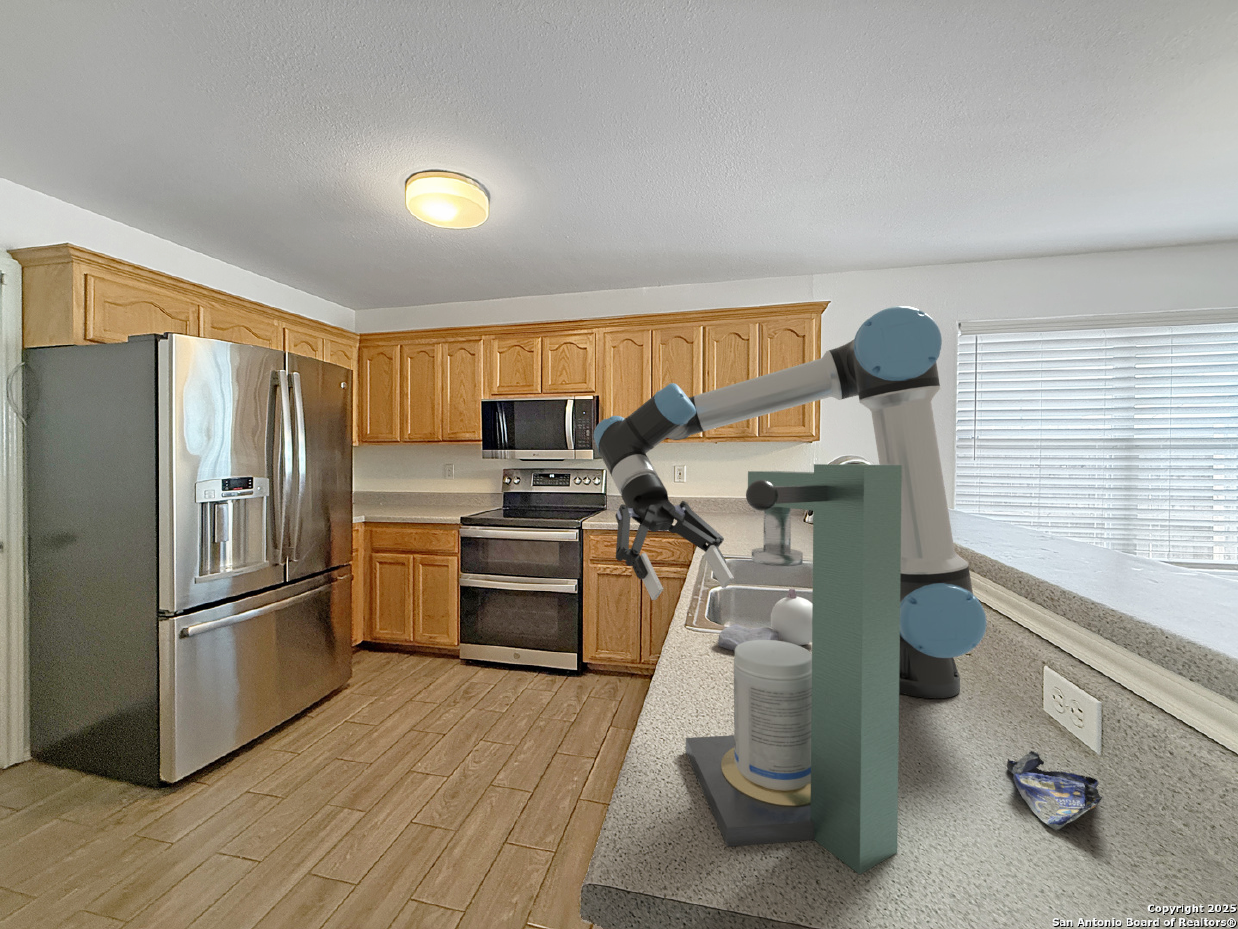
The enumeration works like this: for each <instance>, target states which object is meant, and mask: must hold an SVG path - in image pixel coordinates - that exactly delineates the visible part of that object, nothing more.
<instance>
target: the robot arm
mask: <svg viewBox="0 0 1238 929" xmlns="http://www.w3.org/2000/svg"><path fill="white" fill-rule="evenodd" d="M941 333H942V332H941V330H940V327H939V325H938V324H937V322H936V321H935V320H934V319H933V318H932V317H931V315H929V314H927V313H926V312H924V311H922V310H920V309H918V308H916V307H911V306H903V305H901V306H900V305H899V306H891V307H887V308H885V309H882V310H880V311H877V313H875V314H873V315H871V317H869V318H868V319H866V320H865V321H864V322H863V323H862V324H861V325H860V327H859V328H858V330H857V331H856V333H855V336H854V339H853V340H851V341H849V342H847V343H845V344H843V345H840V346H839V347H835V348H832V349H829V350H826V351H825V353H824V354H823V356H822V357H821V358H818V359H814V360H811V361H807V362H804V363H802V364H801V363H800V364H797V365H794V366H791V367H787V368H784V369H781V370H778V371H774V372H770V373H767V374H764V375H760V376H756V377H754V378H750V379H746V380H743V381H741V382H740V381H739V382H737V383H733V384H729V385H726V386H724V387H720V388H717V389H713V390H710V391H709V390H708V391H706V392H703V393H700V394H696V395H694V396H693V395H692V396H690V397H689V396H688V395H687V394H686V393H685V392H684V390H683V389H682V388H681V387H680V386H679V385H678V384H677V383H675V382H674V383H673V382H671V383H668V384H667V385H666V386H665V387H663V388H661V389H660V390H658V391H656V392H655V394H653V396H651V397H650V398H649V399H648V400H646V401H645V402H644V403H643V404H642V405H641V406H640V407H638V408H637V409H636V410H635V411H633V412H632V413H631V414H629V415H628V416H627V417H623V416H620V415H611V416H609V418H604V419H602V420H601V421H600V422H598V424H597V425H596V427H595V428H594V431H593V440H594V442H595V445H596V447H597V448H596V449H597V452H598V454H599V456H600V457H601V459H602V461H603V463H604V464H605V466H606V469H607V470H608V473H609V475H610V476H611V478H612V480H613V483H614V485H615V487H616V489H617V490H618V492H619V495H621V498H622V501H623V503H624V504H620V506H619V508H618V510H617V511H616V513H615V515H614V516H615V519H616V522H617V535H616V545H615V546H616V547H615V559H616V560H617V561H618V562H622V561H623V560H625V565H626V566H628V567H632V569H633V571H634V573H635V576H636V577H637V578H638V579H639V580H642V582H643V584H644V586H645V589H646V591H647V592H648V594H649V597H650V598H651V601H655V600H657V599H658V598H659V596H660V595H661V593H662V592H663V591H664V587H663V585H662V584H661V581H660V579H659V577H658V575H657V573H656V570H655V569H654V567H653V565H652V563H651V561H650V558H649V556H648V554H647V553H646V552H642V553H641V551H642V548H643V547H644V546H643V545H644V542H645V540H646V537H647V534H648V531H651V533H654V532H658V531H661V532H667V531H669V532H670V533H671V534H677V535H679V536H680V537H681V538H683V539H685V540H686V541H687V542H689V543H691V544H692V545H694V546H695V547H697V548H699V549H701V551H703V552H704V554H703V557H704V558H705V561H706V563H707V564H708V567H710V569H711V571H712V572H713V574H714V576H715V578H716V580H717V582H718V583H719V585H720V587H721V589H724V588H727V587H728V585H730V584H731V582H732V581H733V579H734V578H735V577H734V575H733V574H732V572H731V571H730V569H729V568H728V566H727V560H726V557H725V556H724V554H723V553H722V551H721V550H720V548H719V547H720V546H721V545H722V544H723V542H724V540H725V538H724V536H722V535H721V534H720V532H718V531H717V530H716V529H714V528H713V527H712V526H711V525H710V524H709V523H707V522H706V521H705V520H704V519H703V518H702V517H700V516H699V515H698V514H697V513H696V512H695V511H694V510H692V508H691V506H690V505H689V504H688V502H687V501H685V500H682V501H681V502H680V503H679V504H676V505H674V503H673V504H672V502H671V501H670V500H669V496H668V495H669V494H668V490H667V488H666V486H665V485H664V483H663V482H662V480H661V478H660V477H659V474H658V472H657V471H656V469H655V468H654V466H653V464H652V463H651V461H650V459H649V456H648V455H647V453H649V452H650V451H651V450H653V449H654V448H655V447H656V446H657V445H659V444H660V443H662V442H663V441H664V440H666V439H667V438H668V439H670V440H673V441H680V440H685V439H687V438H688V437H690V436H693V435H696V434H700V433H702V432H706V431H710V430H714V429H717V428H721V427H724V426H728V425H731V424H735V423H740V422H743V421H746V420H750V419H754V418H757V417H761V416H765V415H769V414H772V413H776V412H781V411H783V410H787V409H791V408H795V407H798V406H799V407H800V406H802V405H806V404H810V403H813V402H817V401H821V400H823V399H827V398H834V399H836V400H838V401H841V400H845V399H848V398H853V397H858V400H859V403H860V404H861V405H863V406H864V407H866V408H867V409H868V410H869V411H870V412H871V413H870V414H871V418H872V425H873V430H874V431H873V432H874V436H875V437H874V438H875V444H876V450H877V457H878V465H902V487H901V573H900V659H899V694H903V695H906V696H911V697H917V698H925V699H945V698H951V697H952V698H953V697H954V696H957V695H958V694H959V693H960V691H961V677H960V674H959V672H958V668H957V664H956V661H955V659H954V658H958V657H961V656H963V655H966V654H967V653H969V652H971V651H973V649H975V648H976V647H977V646H978V645H979V644H980V643H981V641H982V640H983V638H984V636H985V634H986V631H987V623H988V622H987V616H986V612H985V609H984V608H983V604H981V602H980V599H979V598H978V597H977V596H976V595H974V592H973V585H972V578H971V572H970V566H969V562H968V561H967V560H965V559H964V558H963V557H961V556H960V555H958V553H957V552H956V551H955V545H954V539H953V533H952V526H951V519H950V513H949V508H948V502H947V500H948V499H947V495H946V494H947V493H946V489H945V482H944V475H943V471H942V470H943V469H942V464H941V458H940V457H941V456H940V450H939V444H938V438H937V433H936V432H937V431H936V424H935V418H934V411H933V406H932V400H933V399H934V397H935V396H936V394H937V393H938V392H939V391H940V390H941V385H940V377H939V371H938V365H937V361H938V359H939V357H940V356H941V355H940V353H941V350H942V345H943V344H942V334H941ZM631 519H632V520H634V521H636V523H638V524H639V526H638V528H637V531H636V534H635V537H634V539H633V542H632V545H631V546H630V531H631V529H630V528H631V526H630V525H631ZM675 520H676V522H675V524H674V521H675ZM673 524H674V525H673ZM640 553H641V554H640Z"/></svg>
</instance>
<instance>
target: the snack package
mask: <svg viewBox="0 0 1238 929" xmlns="http://www.w3.org/2000/svg"><path fill="white" fill-rule="evenodd" d="M1044 758H1046V759H1047V756H1044ZM1044 764H1045V762H1044V760H1043V759H1042V758H1041V757H1040V754H1039V753H1038V751H1036V752H1034V751H1033V750H1030V752H1028V753H1027V754H1025V755H1024V756H1023V757H1021V758H1020V759H1019V760H1018V761H1015V760H1009V757H1008V759H1007V763H1006V768H1007V770H1008V771H1009V772H1010V773H1011V774H1012V775H1013V782H1014V785H1015V787H1016V788H1017V789H1018V792H1019V794H1020V795H1021V798H1022V799H1023V800H1024V801H1025V802H1026V803H1027V806H1028V807H1029V808H1030V810H1031V811H1032V812H1033V813H1034V815H1035V816H1036V817H1038V819H1040V821H1042V822H1043V823H1044V824H1046V825H1047V826H1048V827H1050V828H1051V829H1052V830H1054V831H1058V830H1061V829H1062V828H1063V827H1065V826H1066V825H1067V824H1068V823H1071V822H1074V821H1075V820H1077V819H1078V818H1079V817H1081V816H1082V815H1083V814H1085V813H1086V812H1088V811H1089V810H1092V809H1094V808H1096V806H1097V805H1098V804H1099V803H1101V801H1102V799H1103V797H1104V795H1102V796H1101V795H1100V794H1099V790H1098V788H1097V787H1098V786H1099V783H1100V782H1099V781H1098V779H1097V778H1094V777H1090V776H1085V775H1081V774H1077V773H1072V772H1071V773H1069V772H1066V771H1058V770H1059V768H1056V770H1057V771H1055V770H1054V771H1053V770H1050V771H1048V770H1047V771H1045V770H1042V769H1040V768H1039V766H1043V765H1044ZM1045 797H1049V798H1054V797H1055V798H1054V800H1055V801H1056V802H1057V803H1058V810H1057V811H1056V812H1054V814H1053V815H1051V816H1049V818H1048V819H1047V821H1046V820H1045V819H1043V818H1042V817H1040V816H1039V814H1040V813H1041V811H1042V808H1043V806H1044V805H1045V803H1046V804H1048V800H1047V799H1046V798H1045Z"/></svg>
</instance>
